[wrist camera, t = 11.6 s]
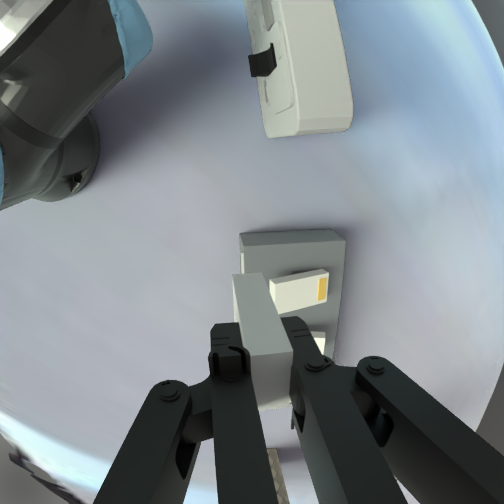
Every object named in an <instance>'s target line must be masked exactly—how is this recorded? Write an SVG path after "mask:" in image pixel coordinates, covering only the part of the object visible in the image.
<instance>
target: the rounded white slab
mask: <svg viewBox="0 0 504 504" xmlns="http://www.w3.org/2000/svg"><path fill="white" fill-rule="evenodd" d="M244 5H245V11H246V16H247V22H248V28H249V34H250V40H251V46H252V52H253V55H249V56H248V58H249V64H250V71H251V77H256V78H257V84H258V91H259V97H260V104H261V111H262V118H263V124H264V129H265V132H266V135H267V137H268V138H279V137H288V136H298V135H309V134H320V133H332V132H344V131H346V130H347V129H348V128H350V126H351V123H352V119H353V97H352V90H351V84H350V78H349V72H348V66H347V61H346V55H345V50H344V45H343V40H342V35H341V31H340V26H339V22H338V17H337V13H336V9H335V5H334V1H333V0H244Z"/></svg>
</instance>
